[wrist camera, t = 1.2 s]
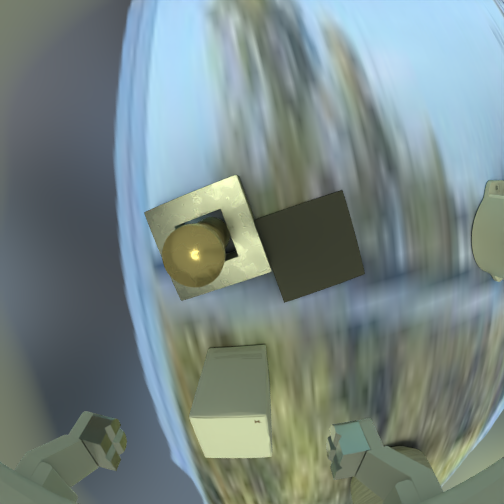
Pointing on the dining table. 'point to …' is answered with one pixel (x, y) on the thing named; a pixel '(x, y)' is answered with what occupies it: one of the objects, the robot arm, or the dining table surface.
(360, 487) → the vase
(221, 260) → the knob
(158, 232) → the housing
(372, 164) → the dining table surface
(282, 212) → the mat
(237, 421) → the supplement box
